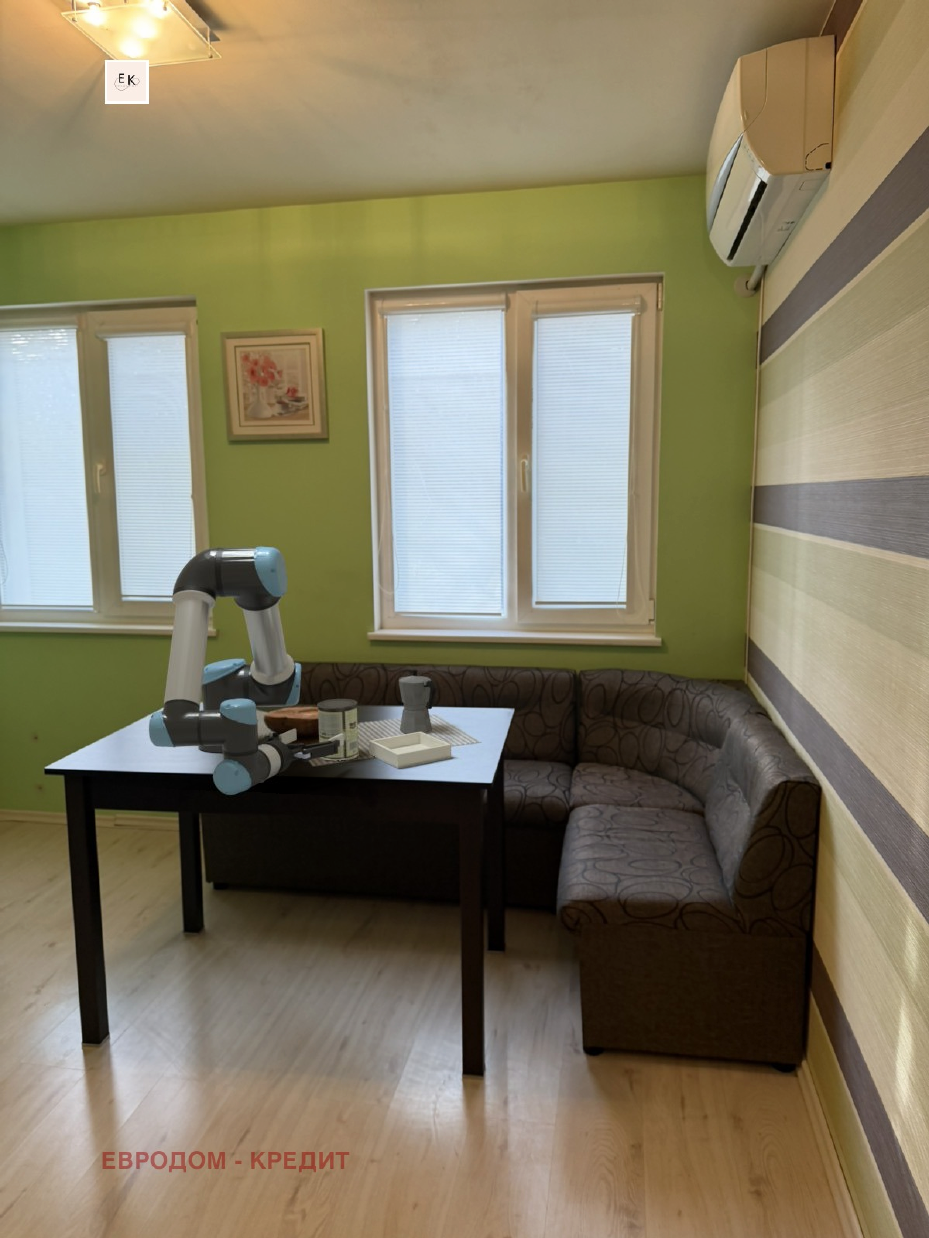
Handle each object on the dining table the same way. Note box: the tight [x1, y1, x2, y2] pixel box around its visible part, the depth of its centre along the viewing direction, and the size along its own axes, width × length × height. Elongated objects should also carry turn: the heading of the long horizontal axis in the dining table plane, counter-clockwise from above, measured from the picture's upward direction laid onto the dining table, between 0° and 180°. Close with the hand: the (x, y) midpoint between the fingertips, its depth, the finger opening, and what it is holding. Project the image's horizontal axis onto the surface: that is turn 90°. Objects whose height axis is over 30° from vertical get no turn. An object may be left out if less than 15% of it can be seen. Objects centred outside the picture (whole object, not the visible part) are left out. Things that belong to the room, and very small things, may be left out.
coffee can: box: [316, 698, 360, 762], centre depth 221 cm, size 10×10×14 cm
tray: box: [368, 732, 452, 770], centre depth 220 cm, size 16×16×4 cm
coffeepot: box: [398, 668, 437, 735], centre depth 243 cm, size 15×9×18 cm, turn 43°
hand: (318, 736), depth 212 cm, fingers open, 13 cm apart
